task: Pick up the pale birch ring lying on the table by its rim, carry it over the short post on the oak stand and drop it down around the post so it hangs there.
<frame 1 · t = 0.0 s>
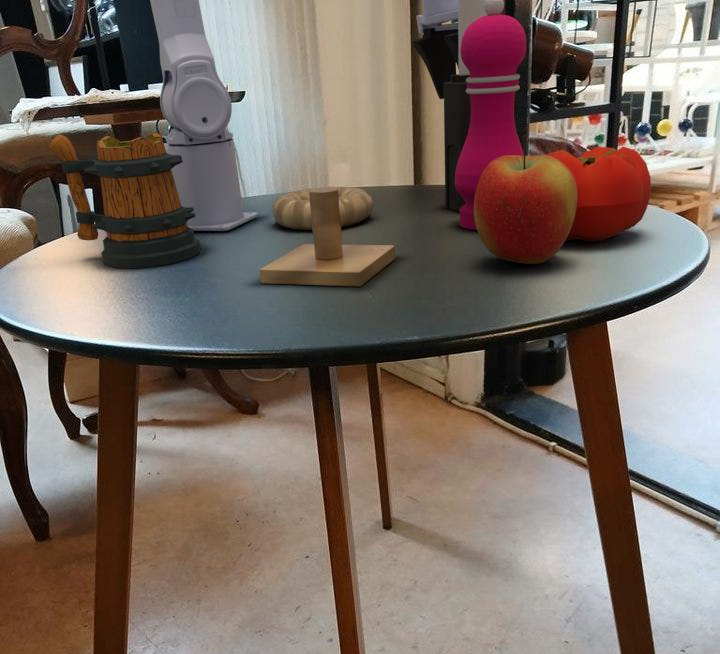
hand: (461, 98, 92), 11 cm above the table, tool pointing down, fingers open, 7 cm apart
apple: (523, 265, 65), on the table
pepper mill: (490, 226, 79), on the table
tomato: (585, 238, 71), on the table
peg stand: (330, 270, 67), on the table
ring: (322, 207, 85), point 1 cm above the table
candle: (472, 208, 87), on the table
mug: (139, 258, 77), on the table
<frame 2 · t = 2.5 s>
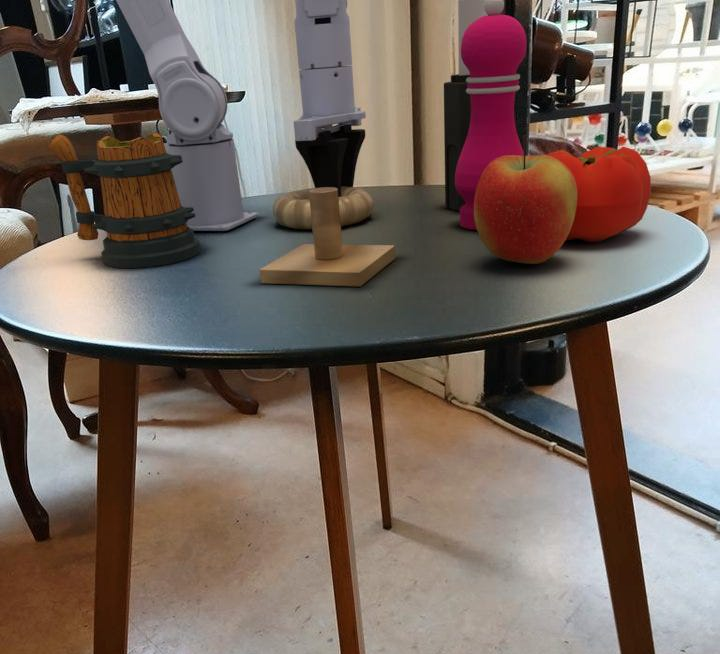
hand: (336, 201, 88), 1 cm above the table, tool pointing down, fingers closed on ring, 3 cm apart
ring: (323, 207, 85), point 2 cm above the table, touching gripper
everything else where it was.
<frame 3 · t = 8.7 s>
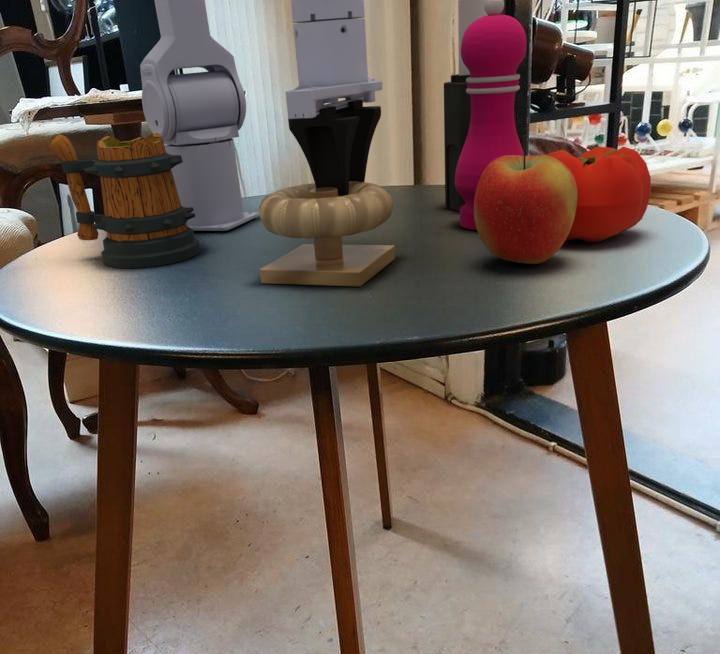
hand: (342, 201, 68), 5 cm above the table, tool pointing down, fingers closed on ring, 3 cm apart
ring: (325, 208, 64), point 5 cm above the table, touching gripper
everything else where it was.
when the fingers open (7 cm above the table, at t = 13.7 s): ring drops 4 cm, resting on peg stand.
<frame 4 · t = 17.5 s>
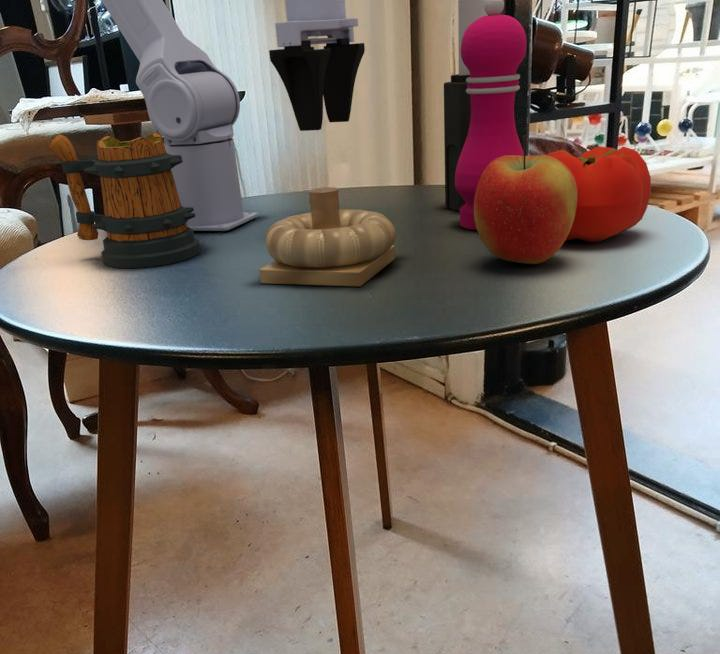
hand: (325, 125, 79), 10 cm above the table, tool pointing down, fingers open, 7 cm apart
ring: (330, 237, 66), point 3 cm above the table, touching peg stand
everything else where it was.
at the end: ring 0.6 cm off-centre on the peg stand, point 2.7 cm above the peg stand's base; the gripper is holding nothing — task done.
